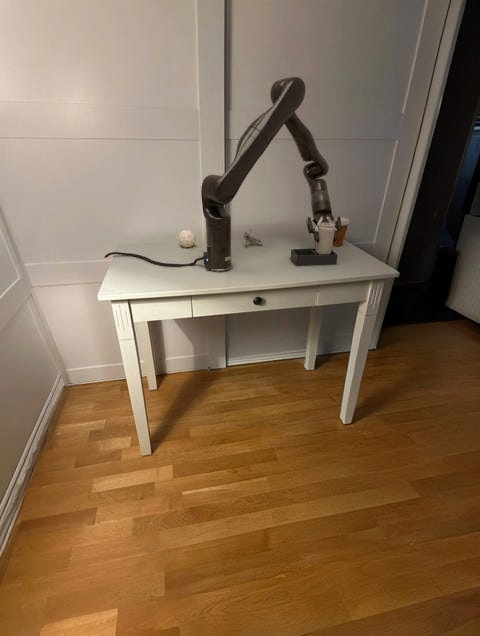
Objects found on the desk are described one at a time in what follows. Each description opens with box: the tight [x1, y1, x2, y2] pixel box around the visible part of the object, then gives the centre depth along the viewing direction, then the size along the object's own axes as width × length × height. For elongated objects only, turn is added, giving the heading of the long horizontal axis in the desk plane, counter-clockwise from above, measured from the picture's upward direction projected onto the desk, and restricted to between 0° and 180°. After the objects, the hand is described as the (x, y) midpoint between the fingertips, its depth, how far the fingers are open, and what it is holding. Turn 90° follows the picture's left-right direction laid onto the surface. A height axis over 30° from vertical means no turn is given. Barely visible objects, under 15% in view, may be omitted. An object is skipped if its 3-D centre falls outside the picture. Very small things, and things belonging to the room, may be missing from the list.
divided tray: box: [289, 247, 338, 267], centre depth 128 cm, size 17×9×4 cm, turn 97°
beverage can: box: [315, 223, 335, 255], centre depth 125 cm, size 6×6×12 cm
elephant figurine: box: [243, 228, 263, 248], centre depth 146 cm, size 10×6×9 cm
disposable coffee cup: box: [332, 216, 351, 247], centre depth 146 cm, size 10×10×12 cm
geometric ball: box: [177, 229, 197, 248], centre depth 142 cm, size 8×8×8 cm
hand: (326, 241), depth 124 cm, fingers closed on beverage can, 6 cm apart
